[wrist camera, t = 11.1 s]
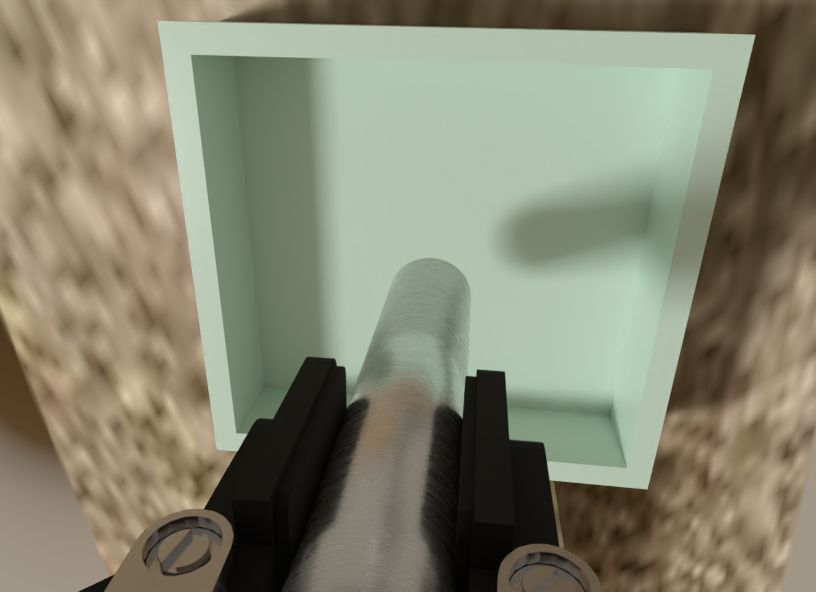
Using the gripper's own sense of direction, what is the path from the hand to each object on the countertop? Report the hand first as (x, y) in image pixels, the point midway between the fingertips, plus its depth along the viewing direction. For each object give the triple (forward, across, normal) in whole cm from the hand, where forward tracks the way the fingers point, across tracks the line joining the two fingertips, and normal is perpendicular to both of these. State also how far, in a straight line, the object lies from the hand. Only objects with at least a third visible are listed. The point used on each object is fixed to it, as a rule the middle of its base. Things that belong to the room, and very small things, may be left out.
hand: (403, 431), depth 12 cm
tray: (+11, 0, 0) cm, 11 cm away
